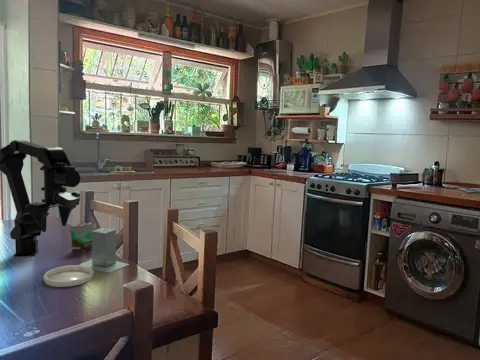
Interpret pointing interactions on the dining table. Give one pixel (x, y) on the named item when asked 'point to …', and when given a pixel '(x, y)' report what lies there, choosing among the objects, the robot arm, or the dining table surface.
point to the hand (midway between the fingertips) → (54, 228)
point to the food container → (82, 236)
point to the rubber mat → (109, 269)
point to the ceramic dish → (68, 275)
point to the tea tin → (103, 247)
